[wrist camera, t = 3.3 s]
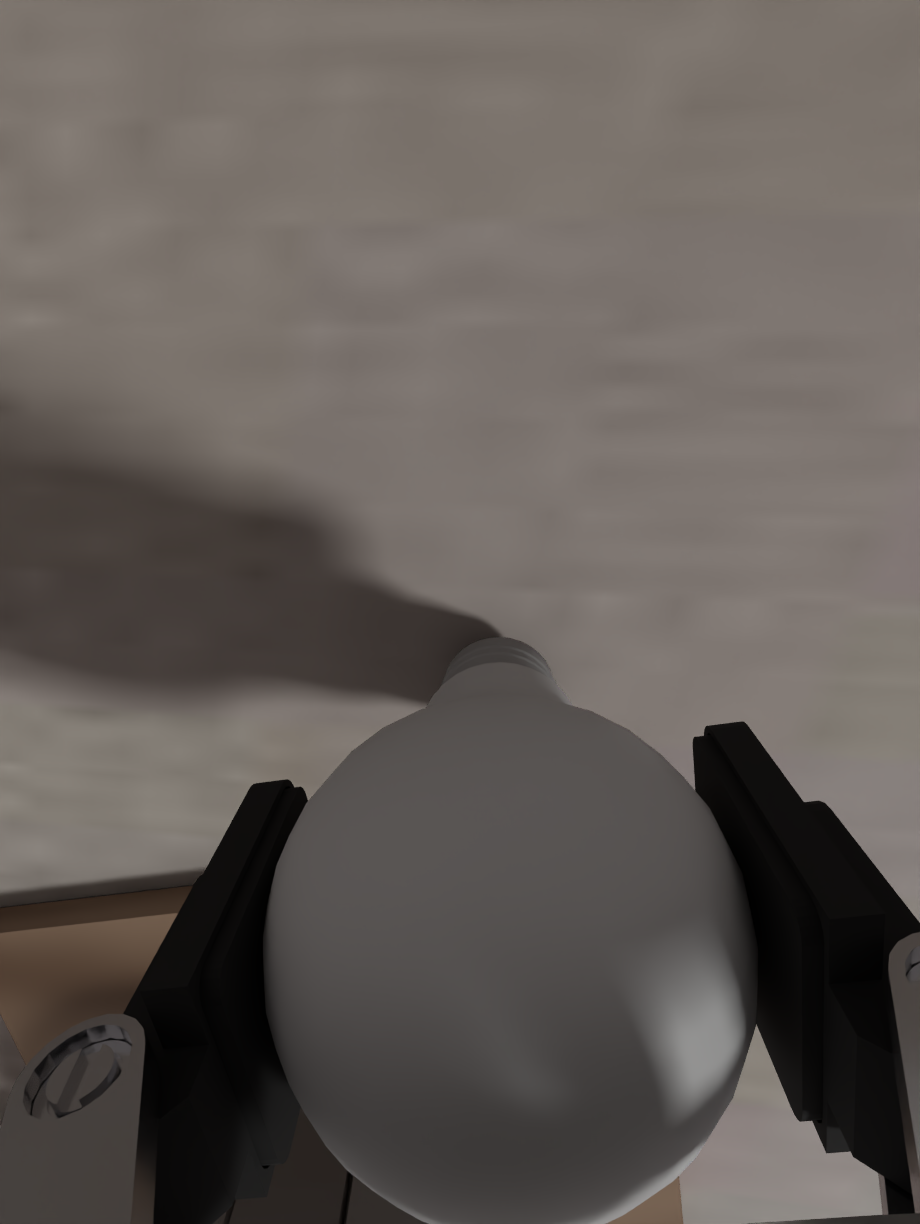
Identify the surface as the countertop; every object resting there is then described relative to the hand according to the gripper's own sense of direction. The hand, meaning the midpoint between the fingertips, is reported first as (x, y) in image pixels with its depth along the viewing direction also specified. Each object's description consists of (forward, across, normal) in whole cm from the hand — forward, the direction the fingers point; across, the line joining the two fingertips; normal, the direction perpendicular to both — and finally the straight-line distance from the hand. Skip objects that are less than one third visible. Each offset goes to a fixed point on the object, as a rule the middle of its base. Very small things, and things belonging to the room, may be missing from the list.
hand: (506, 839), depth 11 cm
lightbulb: (+6, 0, 0) cm, 6 cm away
